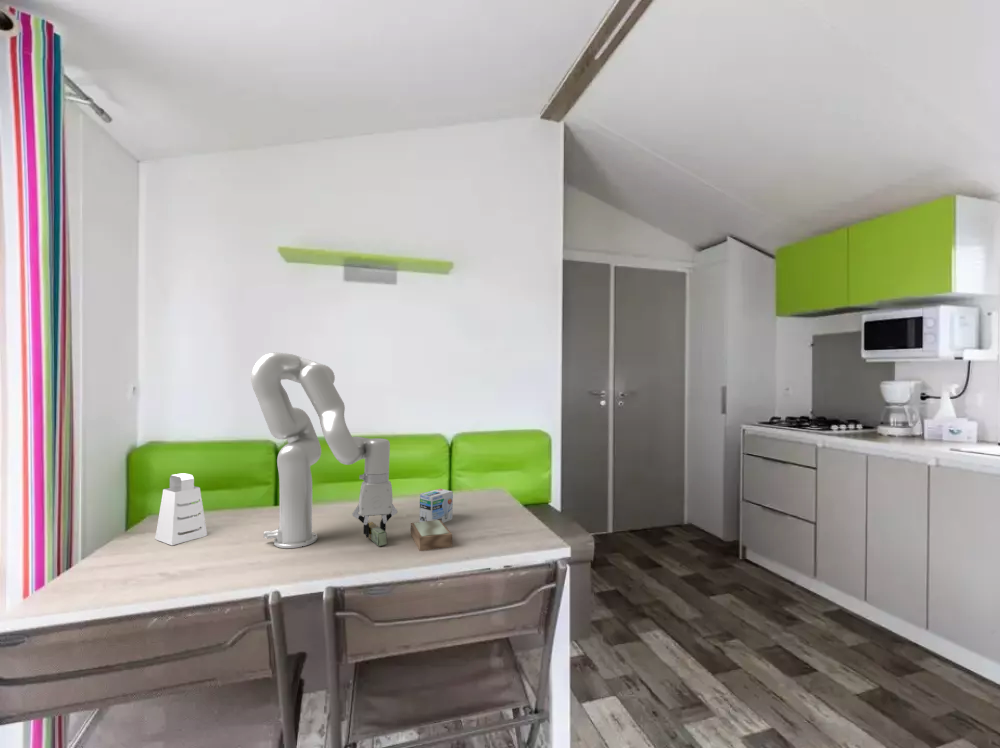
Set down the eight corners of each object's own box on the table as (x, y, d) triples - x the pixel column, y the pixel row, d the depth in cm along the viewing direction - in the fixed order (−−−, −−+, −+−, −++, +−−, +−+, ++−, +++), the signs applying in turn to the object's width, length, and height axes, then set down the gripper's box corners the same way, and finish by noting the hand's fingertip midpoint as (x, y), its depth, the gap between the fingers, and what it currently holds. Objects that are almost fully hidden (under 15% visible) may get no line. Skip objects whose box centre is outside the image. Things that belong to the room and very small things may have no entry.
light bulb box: (432, 528, 165) (432, 496, 165) (418, 524, 169) (418, 493, 169) (453, 520, 173) (453, 490, 173) (439, 517, 177) (440, 488, 177)
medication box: (387, 544, 148) (386, 531, 147) (378, 547, 146) (378, 534, 146) (372, 532, 157) (372, 521, 157) (364, 535, 156) (364, 523, 155)
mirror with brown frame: (419, 551, 143) (419, 537, 143) (410, 535, 157) (410, 522, 157) (452, 547, 147) (452, 533, 147) (440, 531, 161) (440, 519, 161)
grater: (190, 529, 161) (190, 470, 161) (207, 535, 156) (207, 474, 156) (155, 539, 152) (155, 476, 152) (171, 545, 147) (172, 480, 147)
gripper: (349, 481, 146) (347, 541, 146) (404, 479, 151) (402, 537, 152) (348, 476, 153) (346, 533, 153) (401, 474, 159) (399, 529, 159)
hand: (374, 534), depth 152 cm, fingers open, 3 cm apart
